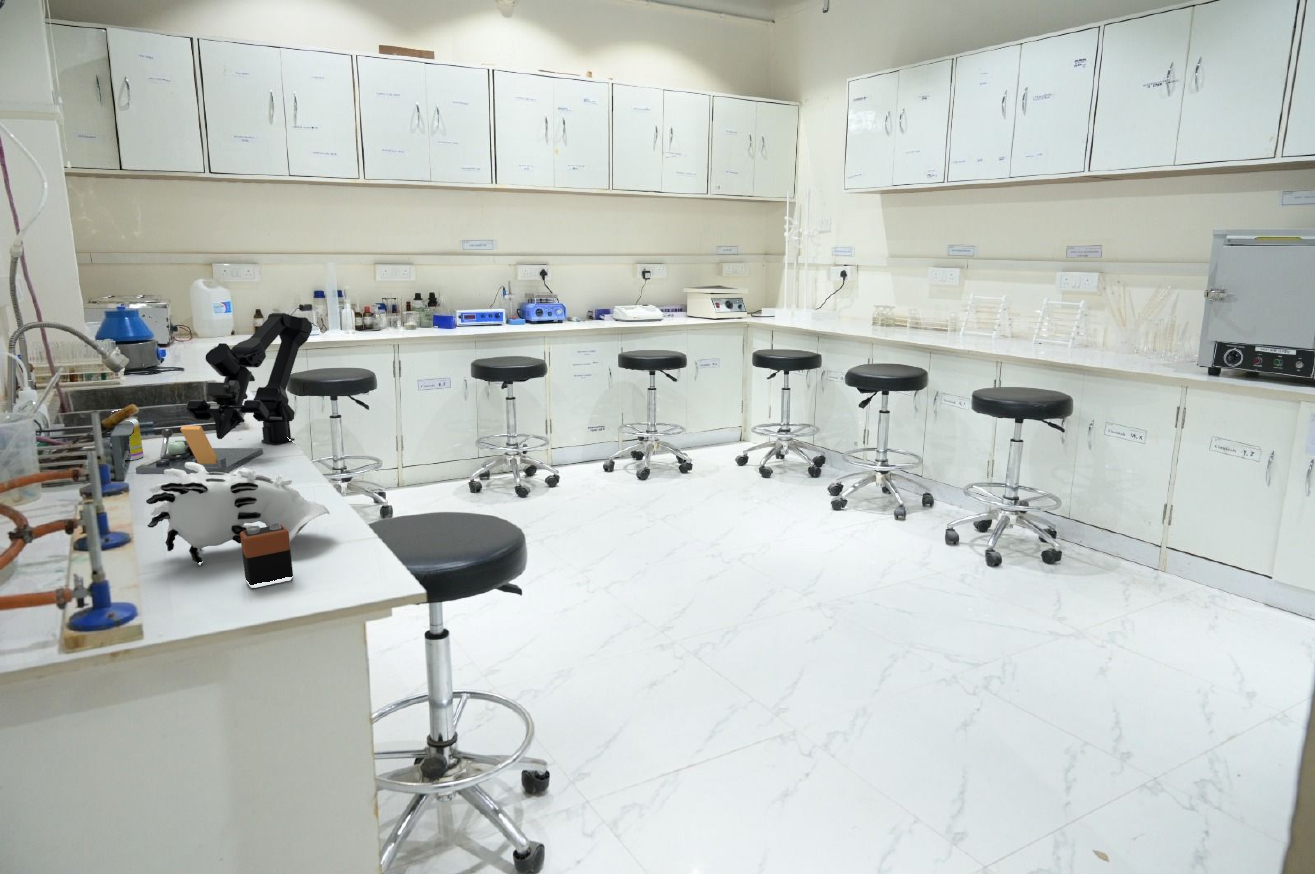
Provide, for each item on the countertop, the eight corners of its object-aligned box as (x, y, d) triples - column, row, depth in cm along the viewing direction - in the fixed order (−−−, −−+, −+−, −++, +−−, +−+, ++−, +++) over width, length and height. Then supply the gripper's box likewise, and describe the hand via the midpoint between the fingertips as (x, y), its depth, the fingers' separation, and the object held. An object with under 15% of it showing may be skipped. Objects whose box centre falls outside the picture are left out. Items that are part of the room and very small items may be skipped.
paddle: (201, 463, 207) (181, 425, 198) (222, 463, 207) (203, 425, 198) (198, 467, 206) (178, 429, 197) (219, 468, 206) (200, 430, 197)
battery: (245, 582, 141) (238, 526, 139) (287, 572, 145) (282, 518, 143) (250, 590, 138) (244, 533, 135) (294, 581, 142) (288, 525, 139)
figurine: (332, 568, 155) (142, 576, 141) (322, 540, 169) (149, 544, 155) (337, 480, 152) (144, 479, 138) (327, 459, 166) (151, 457, 152)
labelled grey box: (189, 444, 224) (189, 439, 224) (204, 444, 224) (204, 439, 224) (174, 445, 217) (174, 440, 217) (190, 445, 217) (190, 440, 217)
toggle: (160, 459, 209) (165, 429, 212) (170, 459, 209) (175, 429, 212) (154, 457, 207) (160, 427, 209) (164, 457, 207) (170, 427, 209)
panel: (182, 452, 225) (180, 439, 225) (263, 453, 225) (262, 440, 225) (134, 474, 205) (132, 459, 204) (224, 474, 205) (222, 460, 204)
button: (173, 450, 216) (172, 441, 215) (188, 450, 216) (187, 441, 215) (165, 454, 212) (164, 444, 212) (180, 454, 212) (179, 444, 212)
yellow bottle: (149, 455, 223) (143, 408, 220) (132, 462, 216) (125, 413, 213) (126, 454, 223) (119, 407, 220) (108, 461, 217) (100, 412, 214)
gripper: (184, 368, 211) (165, 421, 203) (258, 368, 211) (242, 421, 203) (204, 393, 220) (187, 444, 213) (275, 393, 220) (261, 444, 213)
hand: (219, 438), depth 210 cm, fingers closed
